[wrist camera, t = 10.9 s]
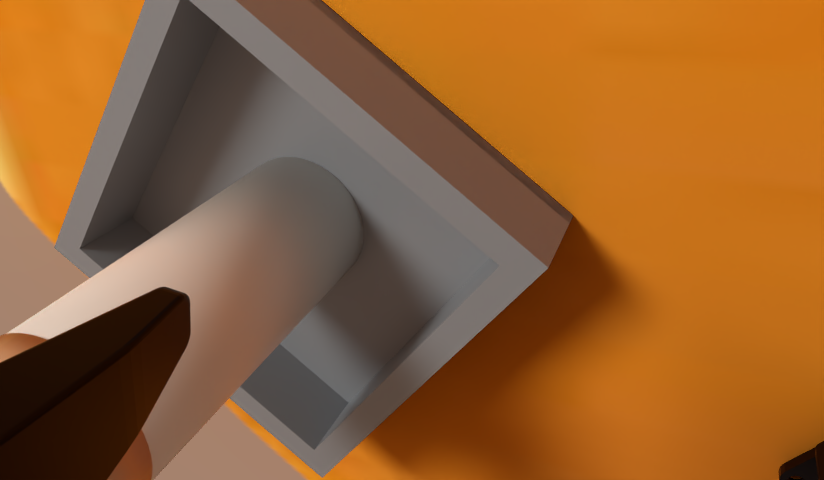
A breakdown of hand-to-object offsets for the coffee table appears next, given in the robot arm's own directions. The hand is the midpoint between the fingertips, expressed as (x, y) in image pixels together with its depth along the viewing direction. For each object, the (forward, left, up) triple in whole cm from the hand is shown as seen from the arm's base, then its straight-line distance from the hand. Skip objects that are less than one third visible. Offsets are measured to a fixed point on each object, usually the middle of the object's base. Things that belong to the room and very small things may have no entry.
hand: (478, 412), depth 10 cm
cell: (+6, +10, -12) cm, 17 cm away
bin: (+6, +10, -13) cm, 18 cm away
